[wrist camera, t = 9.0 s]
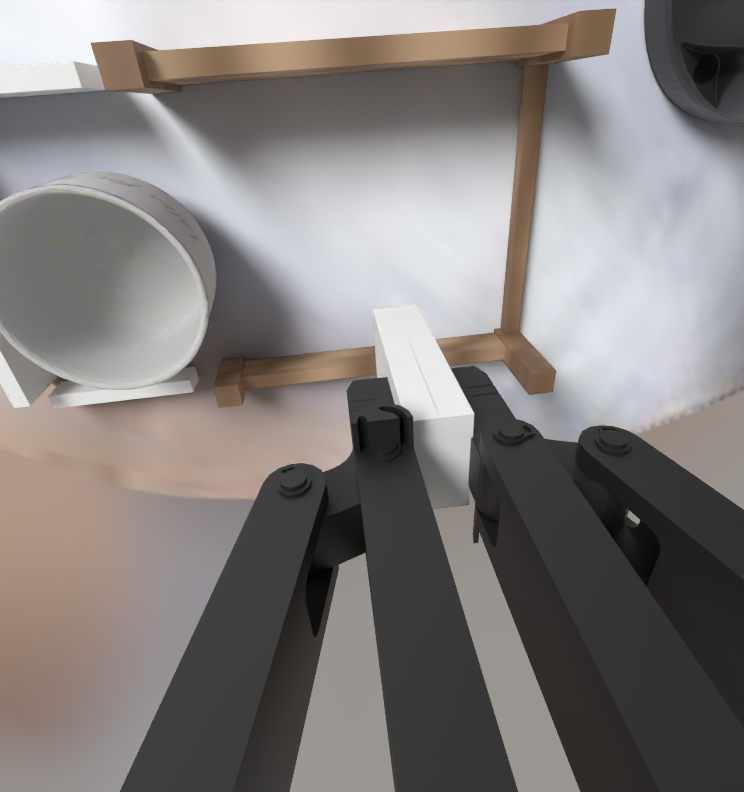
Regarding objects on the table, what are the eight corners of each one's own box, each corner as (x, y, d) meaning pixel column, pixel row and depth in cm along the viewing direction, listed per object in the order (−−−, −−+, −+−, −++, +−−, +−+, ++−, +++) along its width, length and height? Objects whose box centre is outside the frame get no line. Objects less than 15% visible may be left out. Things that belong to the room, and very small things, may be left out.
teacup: (235, 189, 29) (214, 215, 22) (221, 348, 34) (200, 408, 27) (-29, 127, 25) (-149, 135, 19) (0, 312, 31) (-85, 370, 24)
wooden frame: (546, 30, 26) (616, 8, 20) (512, 345, 37) (552, 391, 31) (141, 57, 25) (90, 42, 19) (227, 378, 35) (211, 433, 29)
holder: (104, 67, 25) (73, 61, 21) (198, 378, 35) (187, 407, 31) (-107, 82, 24) (-174, 77, 21) (52, 395, 34) (24, 426, 31)
